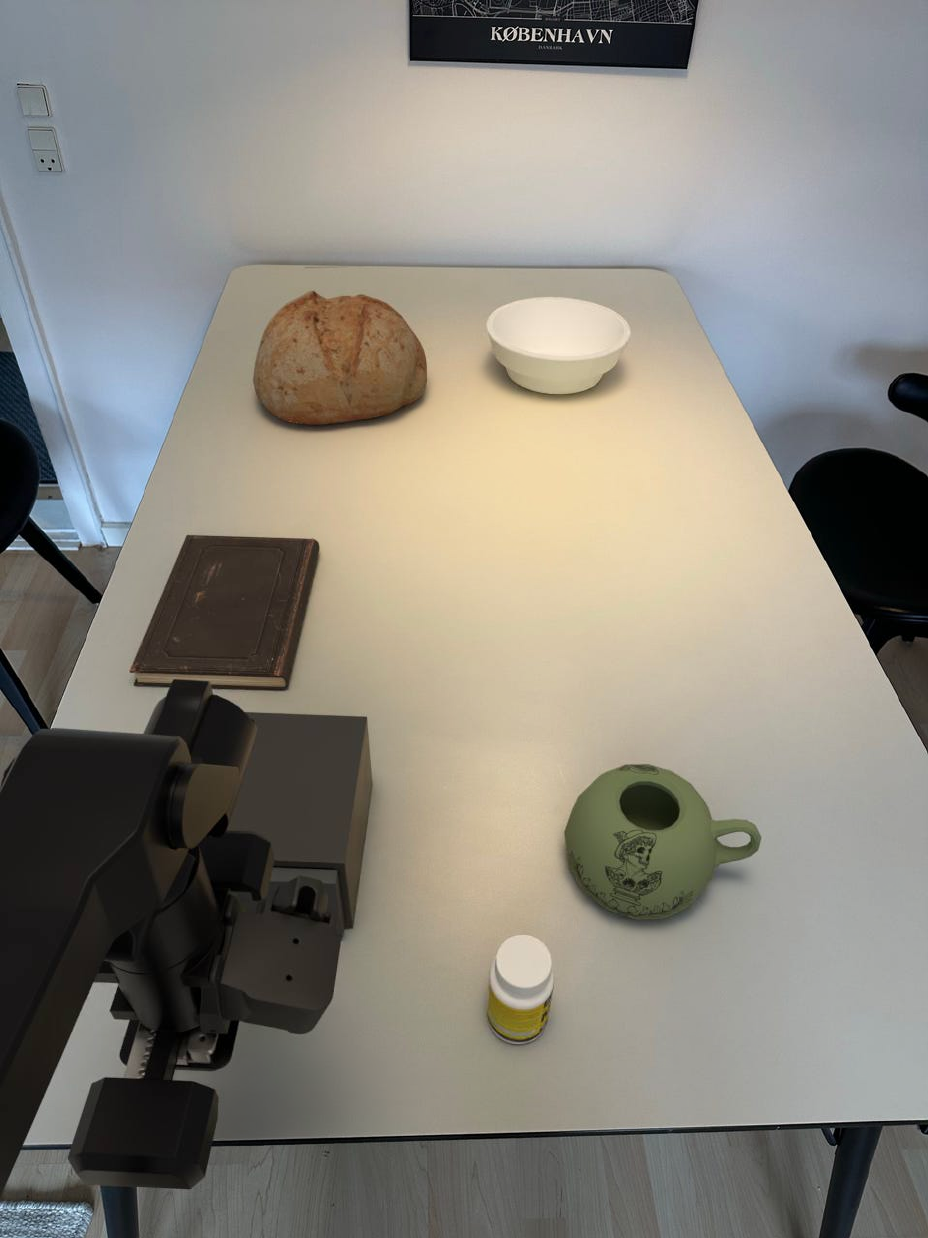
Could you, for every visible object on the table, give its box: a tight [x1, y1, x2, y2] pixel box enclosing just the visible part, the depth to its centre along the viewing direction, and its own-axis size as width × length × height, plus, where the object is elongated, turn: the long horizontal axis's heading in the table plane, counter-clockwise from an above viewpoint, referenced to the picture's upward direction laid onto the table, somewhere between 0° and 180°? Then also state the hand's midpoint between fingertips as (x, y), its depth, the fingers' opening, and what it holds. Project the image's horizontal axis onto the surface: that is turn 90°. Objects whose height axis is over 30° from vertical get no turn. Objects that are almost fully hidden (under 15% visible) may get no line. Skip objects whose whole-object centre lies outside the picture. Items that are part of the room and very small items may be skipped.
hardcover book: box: [129, 534, 321, 691], centre depth 101 cm, size 16×23×2 cm
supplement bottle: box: [485, 934, 555, 1045], centre depth 66 cm, size 5×5×8 cm
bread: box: [252, 290, 428, 426], centre depth 135 cm, size 26×23×15 cm
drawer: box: [231, 866, 345, 937], centre depth 73 cm, size 18×11×8 cm, turn 178°
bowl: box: [485, 296, 632, 395], centre depth 143 cm, size 22×22×8 cm
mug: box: [563, 763, 762, 920], centre depth 76 cm, size 16×13×9 cm
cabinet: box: [227, 711, 374, 929], centre depth 76 cm, size 15×13×10 cm
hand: (211, 1050), depth 55 cm, fingers closed
